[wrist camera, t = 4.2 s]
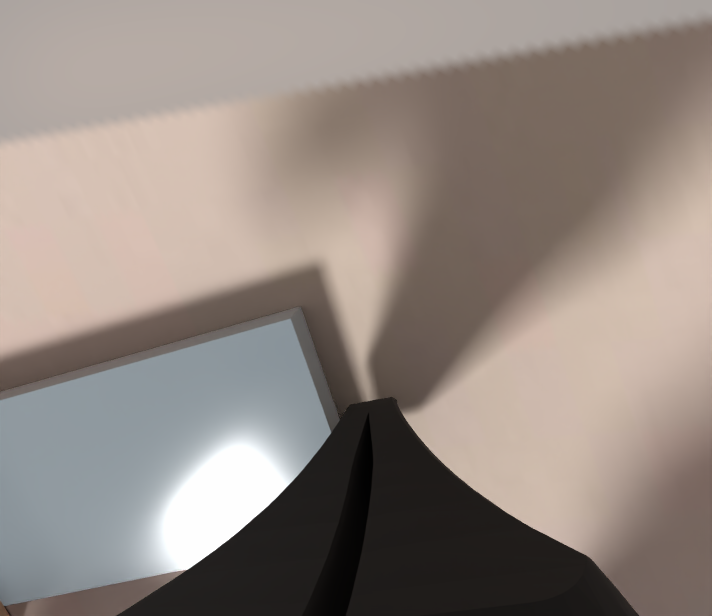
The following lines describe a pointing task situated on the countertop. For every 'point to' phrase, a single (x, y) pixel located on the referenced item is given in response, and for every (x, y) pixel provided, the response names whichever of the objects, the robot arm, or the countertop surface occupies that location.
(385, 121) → the countertop surface
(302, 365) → the tile
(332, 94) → the countertop surface
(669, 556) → the countertop surface
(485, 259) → the countertop surface
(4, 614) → the brown wooden block
